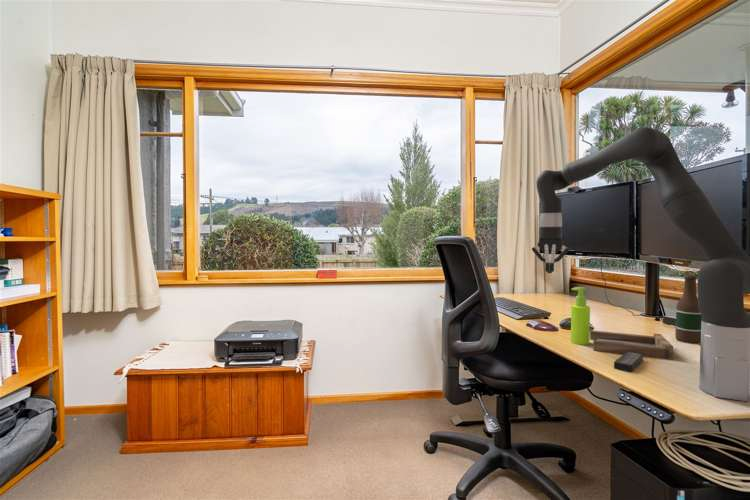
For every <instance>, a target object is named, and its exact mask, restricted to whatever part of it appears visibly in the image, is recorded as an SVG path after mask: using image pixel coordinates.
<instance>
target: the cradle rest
mask: <svg viewBox="0 0 750 500" xmlns="http://www.w3.org/2000/svg"><path fill="white" fill-rule="evenodd" d="M590 340H592V345H593V346H592V350H593V351H595V352H596V351H597V352H598V351H599V352H606V353H615V354H622V355H623V354H625V353H626V352H633V353H638V354H643V357H651V358H659V359H667V360H674V346H673V345H672V344H671V343H670V341H669V340H667V339H666V338H665V336H663V335H662V333H661V334H660V333H653V335H644V334H642V335H641V334H633V333H625V332H624V333H622V332H613V331H612V332H611V331H604V330H603V331H602V330H601V331H600V330H591V329H590V334H589V341H590Z"/></svg>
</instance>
